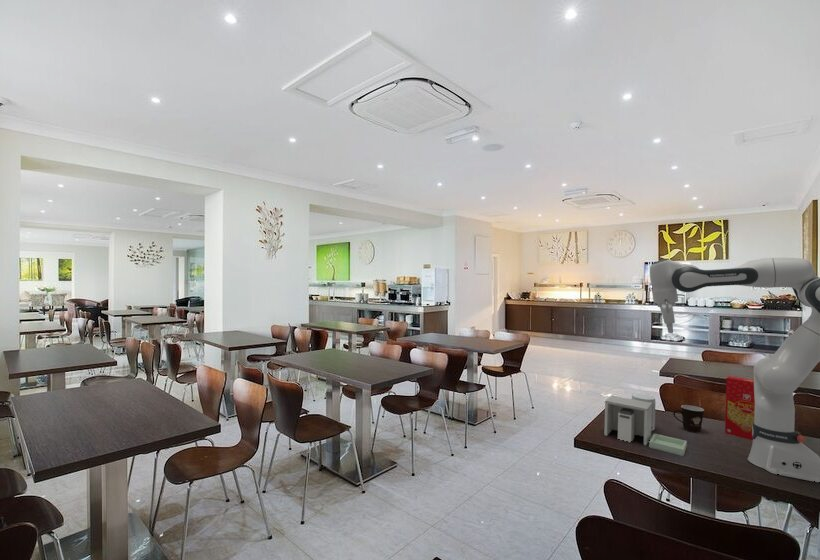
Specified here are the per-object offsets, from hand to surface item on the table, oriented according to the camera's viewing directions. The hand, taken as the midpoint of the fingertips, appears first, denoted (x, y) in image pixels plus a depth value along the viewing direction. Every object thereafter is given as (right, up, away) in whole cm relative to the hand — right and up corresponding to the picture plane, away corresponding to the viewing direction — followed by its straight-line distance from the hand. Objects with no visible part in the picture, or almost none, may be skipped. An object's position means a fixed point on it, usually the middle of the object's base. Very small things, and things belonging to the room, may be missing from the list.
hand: (670, 330), depth 170 cm
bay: (-16, -46, +4) cm, 49 cm away
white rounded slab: (-3, -47, +15) cm, 49 cm away
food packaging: (+38, -48, +7) cm, 62 cm away
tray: (-5, -47, -7) cm, 47 cm away
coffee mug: (+18, -47, +15) cm, 53 cm away
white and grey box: (-18, -46, +2) cm, 50 cm away
